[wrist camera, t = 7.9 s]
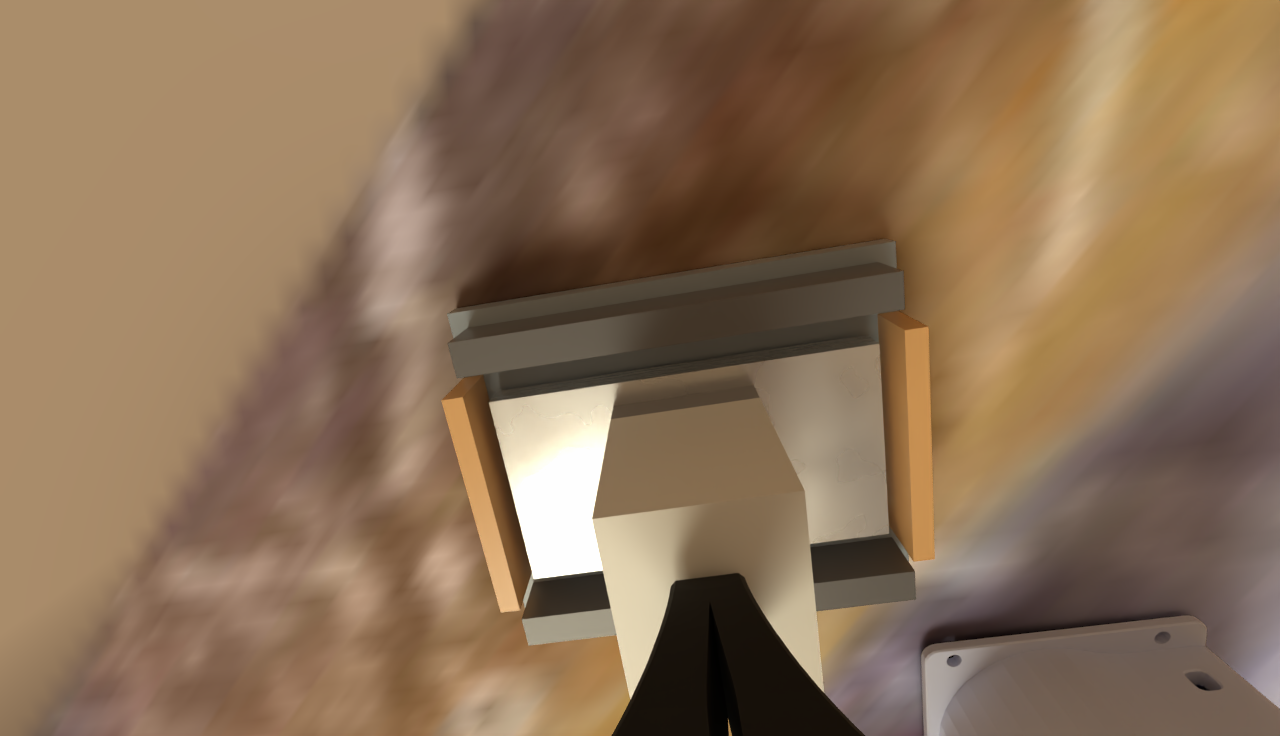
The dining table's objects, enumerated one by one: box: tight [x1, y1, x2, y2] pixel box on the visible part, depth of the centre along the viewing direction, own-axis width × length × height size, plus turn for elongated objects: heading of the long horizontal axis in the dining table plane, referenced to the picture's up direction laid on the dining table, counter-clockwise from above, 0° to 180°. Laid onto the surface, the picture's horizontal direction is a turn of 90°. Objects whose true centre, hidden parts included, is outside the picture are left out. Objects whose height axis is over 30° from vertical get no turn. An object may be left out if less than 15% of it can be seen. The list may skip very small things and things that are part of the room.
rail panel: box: [441, 239, 935, 645], centre depth 18 cm, size 13×11×3 cm
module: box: [592, 385, 824, 700], centre depth 15 cm, size 4×5×6 cm
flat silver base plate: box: [489, 335, 889, 579], centre depth 18 cm, size 11×6×1 cm, turn 99°
